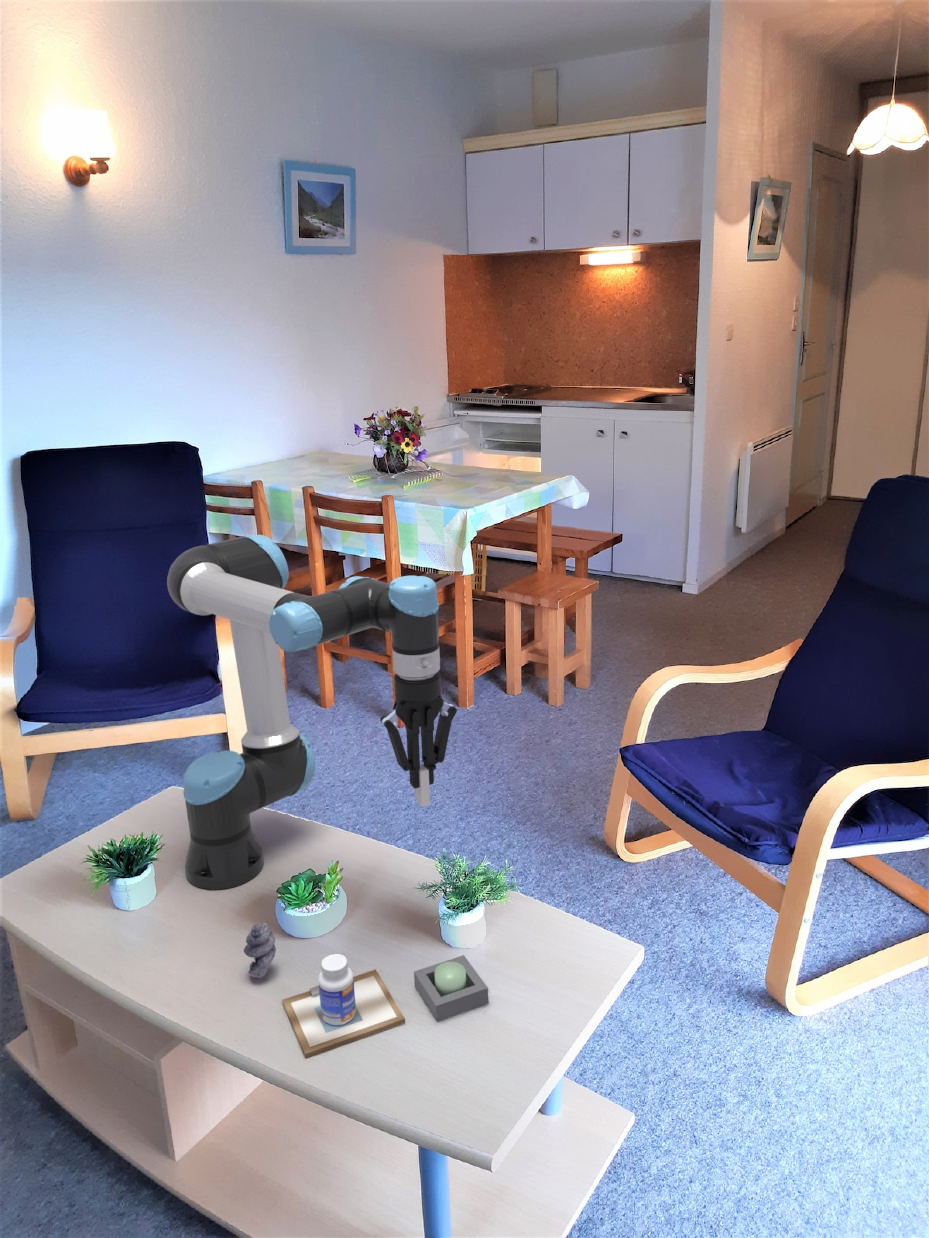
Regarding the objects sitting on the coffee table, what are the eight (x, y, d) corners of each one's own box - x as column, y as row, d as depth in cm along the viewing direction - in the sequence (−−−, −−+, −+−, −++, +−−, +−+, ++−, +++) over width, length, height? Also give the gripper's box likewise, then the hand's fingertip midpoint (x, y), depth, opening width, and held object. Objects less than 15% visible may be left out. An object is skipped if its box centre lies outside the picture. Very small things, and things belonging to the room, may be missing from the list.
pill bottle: (350, 1028, 146) (346, 975, 143) (316, 1024, 147) (311, 972, 144) (360, 1003, 151) (356, 952, 148) (327, 1000, 152) (323, 949, 149)
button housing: (414, 986, 156) (413, 971, 155) (464, 969, 159) (463, 954, 158) (436, 1021, 148) (436, 1005, 147) (488, 1003, 152) (488, 987, 151)
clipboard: (282, 1003, 153) (281, 995, 152) (376, 973, 159) (375, 965, 159) (305, 1058, 142) (304, 1049, 141) (405, 1022, 148) (404, 1014, 147)
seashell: (245, 968, 161) (239, 918, 158) (277, 960, 163) (271, 911, 160) (249, 988, 156) (243, 937, 153) (281, 980, 158) (276, 929, 155)
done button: (430, 987, 155) (429, 967, 153) (458, 978, 157) (457, 957, 155) (443, 1006, 150) (442, 986, 149) (471, 996, 152) (470, 976, 151)
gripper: (387, 687, 147) (395, 821, 154) (463, 672, 152) (467, 803, 160) (370, 672, 153) (378, 801, 161) (444, 658, 159) (448, 784, 166)
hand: (422, 802), depth 160 cm, fingers closed
